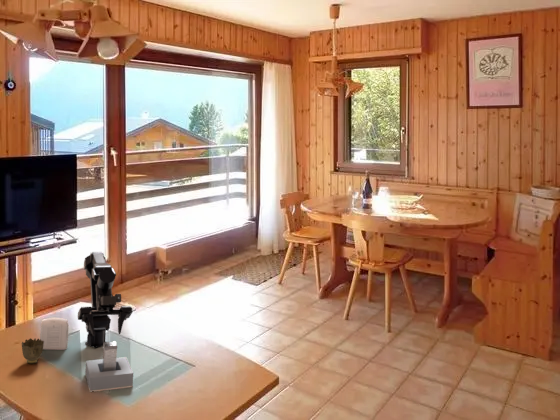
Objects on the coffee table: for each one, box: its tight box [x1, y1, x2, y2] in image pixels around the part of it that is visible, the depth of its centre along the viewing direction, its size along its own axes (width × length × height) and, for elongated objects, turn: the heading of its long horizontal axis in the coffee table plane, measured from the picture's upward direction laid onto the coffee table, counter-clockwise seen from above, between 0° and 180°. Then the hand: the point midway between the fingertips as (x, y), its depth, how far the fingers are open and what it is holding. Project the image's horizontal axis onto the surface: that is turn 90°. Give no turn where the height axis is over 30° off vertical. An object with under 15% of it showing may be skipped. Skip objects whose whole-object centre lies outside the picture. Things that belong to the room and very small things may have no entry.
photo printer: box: [39, 317, 69, 351], centre depth 207 cm, size 10×4×12 cm, turn 103°
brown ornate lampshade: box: [21, 338, 44, 365], centre depth 193 cm, size 8×7×8 cm
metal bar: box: [102, 340, 118, 372], centre depth 185 cm, size 4×4×13 cm
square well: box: [84, 356, 134, 393], centre depth 185 cm, size 14×14×5 cm
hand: (106, 334), depth 192 cm, fingers open, 9 cm apart
